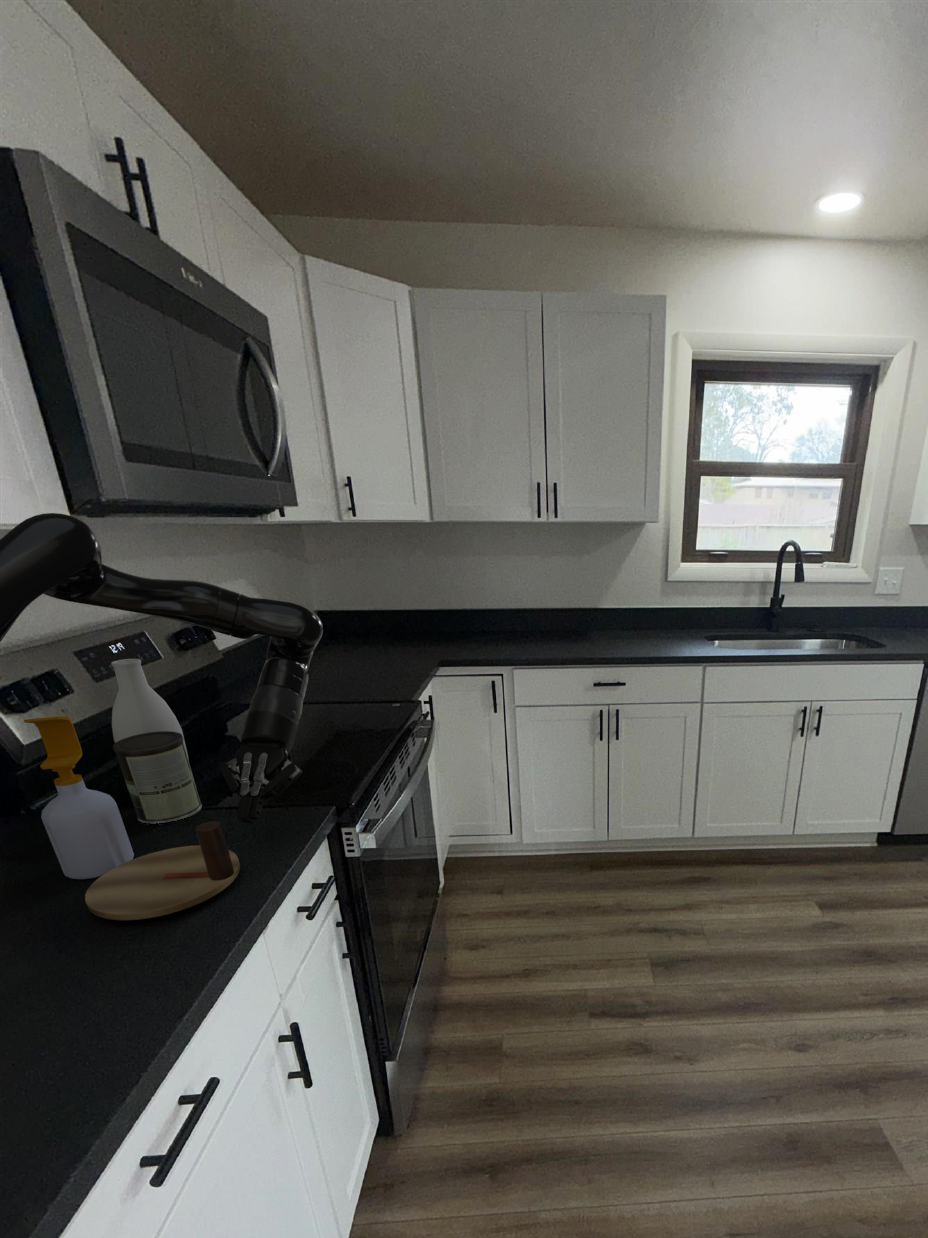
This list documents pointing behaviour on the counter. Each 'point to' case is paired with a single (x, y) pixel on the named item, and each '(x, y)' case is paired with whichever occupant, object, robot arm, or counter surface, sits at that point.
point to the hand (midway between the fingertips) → (246, 821)
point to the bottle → (139, 704)
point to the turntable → (166, 879)
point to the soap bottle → (79, 809)
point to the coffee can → (158, 776)
